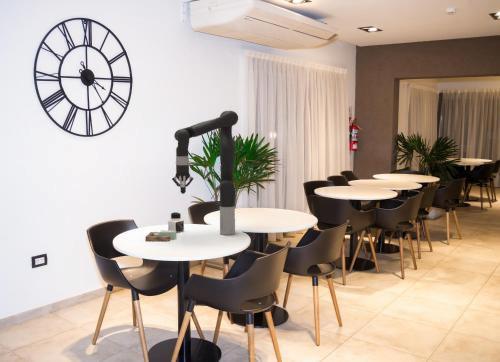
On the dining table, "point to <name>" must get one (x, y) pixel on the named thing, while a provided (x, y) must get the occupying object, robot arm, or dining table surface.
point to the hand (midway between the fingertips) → (183, 193)
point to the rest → (156, 237)
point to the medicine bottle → (176, 223)
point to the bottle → (166, 234)
